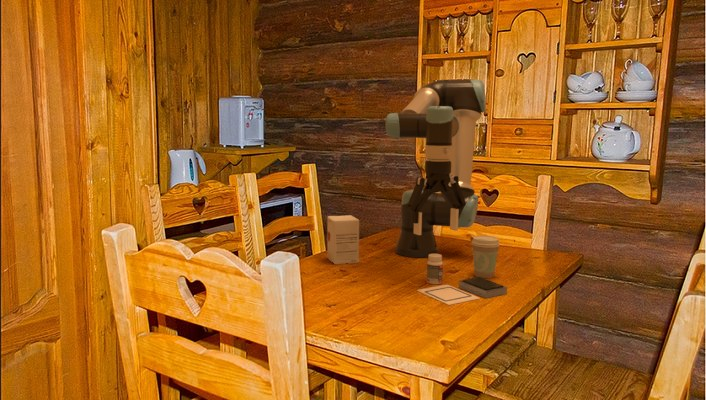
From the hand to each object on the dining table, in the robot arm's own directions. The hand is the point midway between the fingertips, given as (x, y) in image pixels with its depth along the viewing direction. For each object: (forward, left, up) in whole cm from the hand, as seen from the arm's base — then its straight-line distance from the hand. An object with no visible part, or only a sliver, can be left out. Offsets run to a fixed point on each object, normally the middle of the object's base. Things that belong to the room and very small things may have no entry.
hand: (436, 232), depth 164 cm
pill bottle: (0, 0, -16) cm, 16 cm away
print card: (+11, -4, -15) cm, 19 cm away
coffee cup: (+2, +18, -16) cm, 24 cm away
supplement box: (-35, -12, -16) cm, 40 cm away
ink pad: (+13, +7, -15) cm, 21 cm away
